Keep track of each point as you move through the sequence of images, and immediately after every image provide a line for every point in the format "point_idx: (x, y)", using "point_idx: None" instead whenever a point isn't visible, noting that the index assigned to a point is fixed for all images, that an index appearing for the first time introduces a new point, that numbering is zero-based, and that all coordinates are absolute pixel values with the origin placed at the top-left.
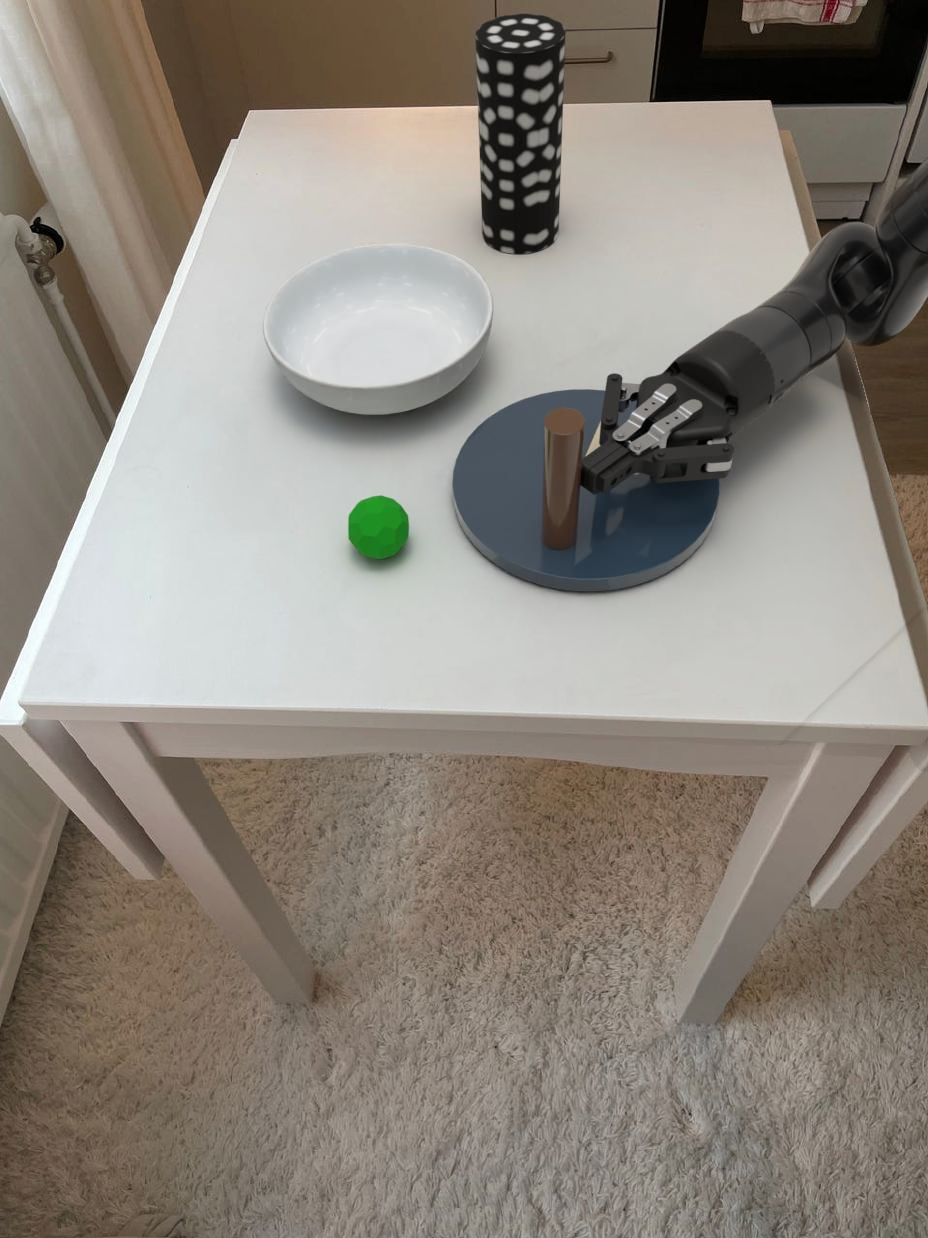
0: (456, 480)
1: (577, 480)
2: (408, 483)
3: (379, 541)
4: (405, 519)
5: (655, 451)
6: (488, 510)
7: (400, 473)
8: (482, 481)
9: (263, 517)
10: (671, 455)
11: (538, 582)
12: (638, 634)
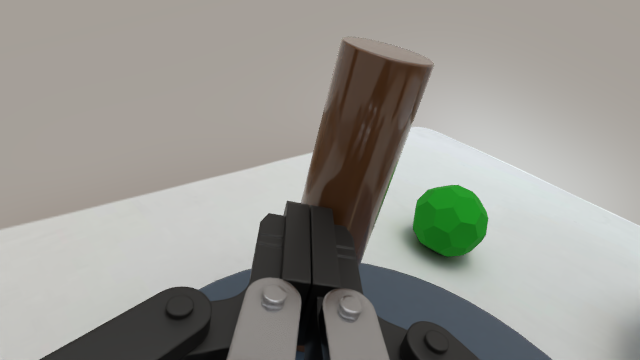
0: (497, 322)
1: (306, 186)
2: (529, 323)
3: (423, 195)
4: (440, 221)
5: (205, 307)
6: (416, 305)
7: (552, 330)
8: (480, 343)
9: (519, 226)
10: (137, 323)
11: None
12: (83, 298)
